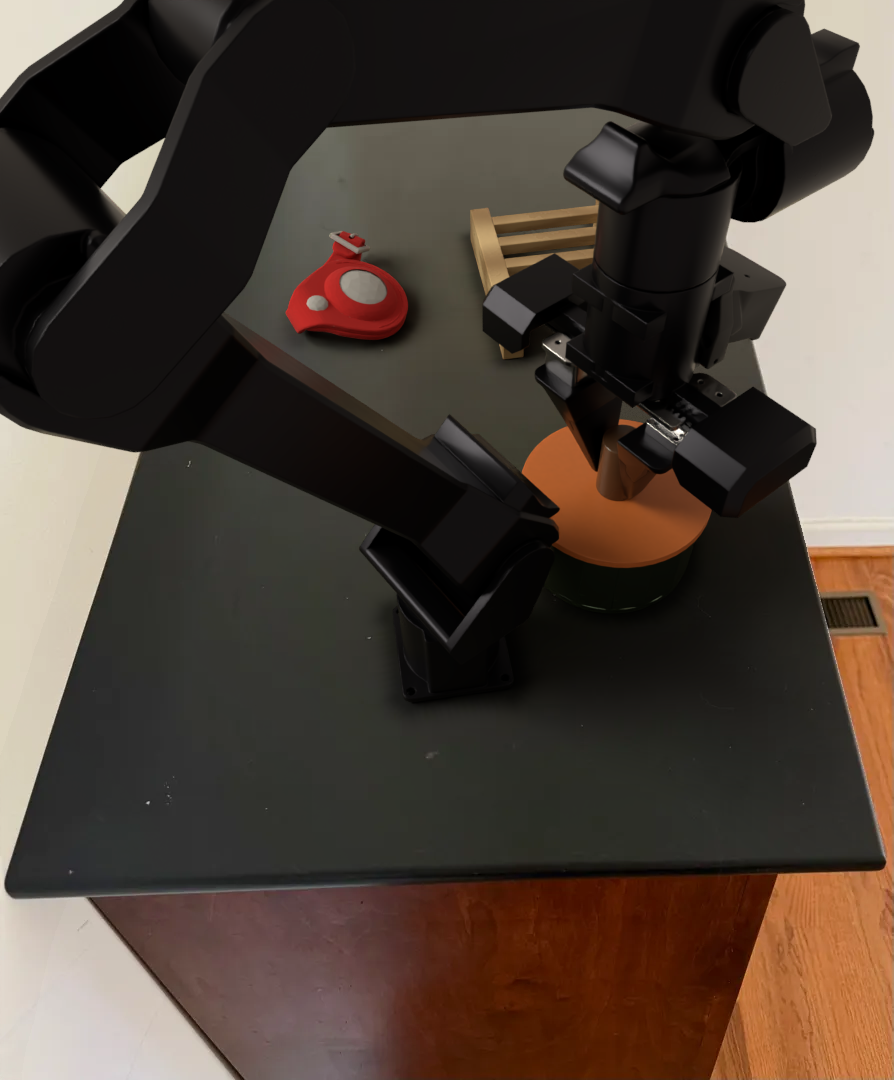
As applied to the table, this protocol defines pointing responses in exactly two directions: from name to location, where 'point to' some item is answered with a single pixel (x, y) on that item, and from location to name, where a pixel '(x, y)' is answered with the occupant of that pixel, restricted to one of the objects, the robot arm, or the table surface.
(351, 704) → the table surface
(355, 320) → the tracker holder
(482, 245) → the rack
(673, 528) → the lid
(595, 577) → the pot
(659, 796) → the table surface
